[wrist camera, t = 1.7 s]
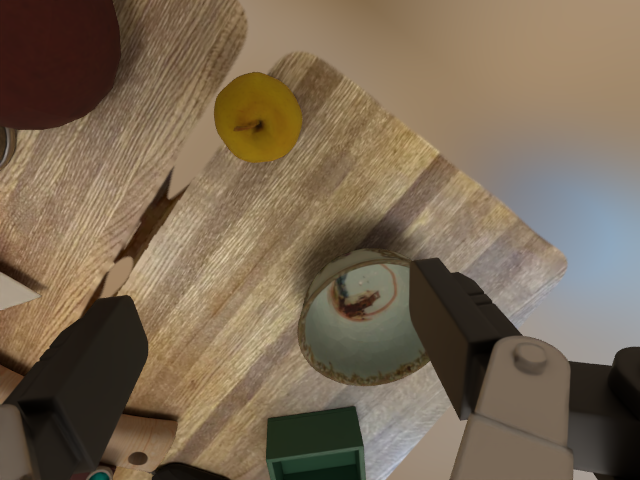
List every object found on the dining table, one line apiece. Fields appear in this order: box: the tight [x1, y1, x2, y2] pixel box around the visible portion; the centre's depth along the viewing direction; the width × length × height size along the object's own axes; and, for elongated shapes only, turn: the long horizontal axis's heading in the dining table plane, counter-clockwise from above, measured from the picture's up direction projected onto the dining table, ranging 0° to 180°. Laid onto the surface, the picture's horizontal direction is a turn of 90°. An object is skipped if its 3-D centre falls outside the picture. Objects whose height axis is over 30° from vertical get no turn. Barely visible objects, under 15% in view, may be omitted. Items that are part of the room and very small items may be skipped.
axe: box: [0, 272, 178, 472], centre depth 39 cm, size 18×5×30 cm
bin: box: [266, 407, 366, 480], centre depth 47 cm, size 11×11×6 cm
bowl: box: [297, 248, 430, 386], centre depth 36 cm, size 14×13×8 cm
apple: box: [214, 72, 302, 163], centre depth 28 cm, size 6×6×8 cm
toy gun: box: [70, 462, 116, 480], centre depth 41 cm, size 10×12×5 cm
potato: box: [0, 0, 121, 130], centre depth 23 cm, size 11×13×10 cm
